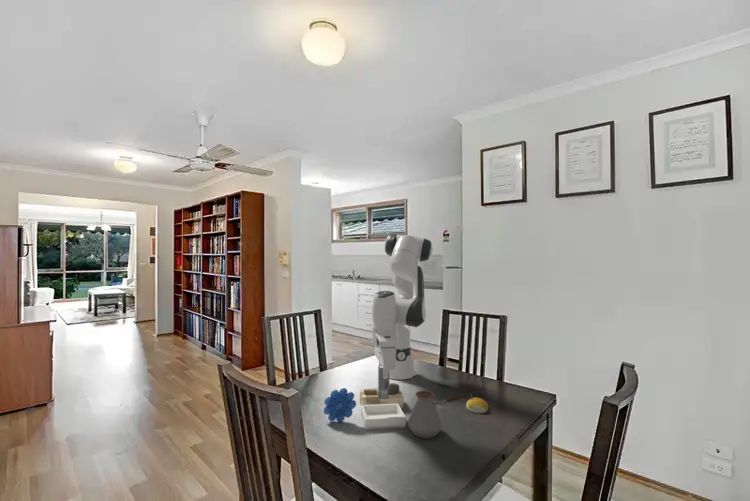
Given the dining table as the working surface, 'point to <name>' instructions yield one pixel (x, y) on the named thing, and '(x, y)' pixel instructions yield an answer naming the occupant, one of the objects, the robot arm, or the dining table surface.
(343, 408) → the blue lobed round piece
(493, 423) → the dining table surface
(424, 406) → the coffee pot
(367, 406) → the tray
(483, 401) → the bread roll
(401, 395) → the plate
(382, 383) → the pin
